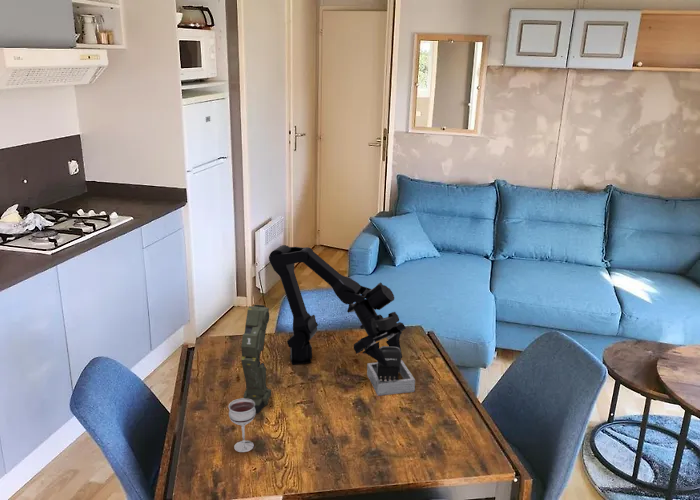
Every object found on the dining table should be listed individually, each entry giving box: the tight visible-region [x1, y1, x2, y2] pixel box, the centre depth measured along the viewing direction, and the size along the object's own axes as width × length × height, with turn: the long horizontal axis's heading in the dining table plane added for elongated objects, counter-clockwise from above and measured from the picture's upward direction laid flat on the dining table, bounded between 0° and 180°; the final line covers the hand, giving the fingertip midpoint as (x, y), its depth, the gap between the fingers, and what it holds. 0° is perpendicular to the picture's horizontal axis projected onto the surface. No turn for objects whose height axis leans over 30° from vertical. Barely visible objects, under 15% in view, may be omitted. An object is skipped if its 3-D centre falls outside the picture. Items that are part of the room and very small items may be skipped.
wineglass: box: [228, 397, 257, 453], centre depth 150 cm, size 7×7×12 cm
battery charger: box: [376, 345, 402, 382], centre depth 181 cm, size 7×4×11 cm, turn 94°
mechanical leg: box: [240, 304, 272, 415], centre depth 169 cm, size 14×7×30 cm, turn 168°
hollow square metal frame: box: [366, 359, 416, 396], centre depth 183 cm, size 12×13×4 cm
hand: (393, 361), depth 180 cm, fingers closed on battery charger, 7 cm apart
